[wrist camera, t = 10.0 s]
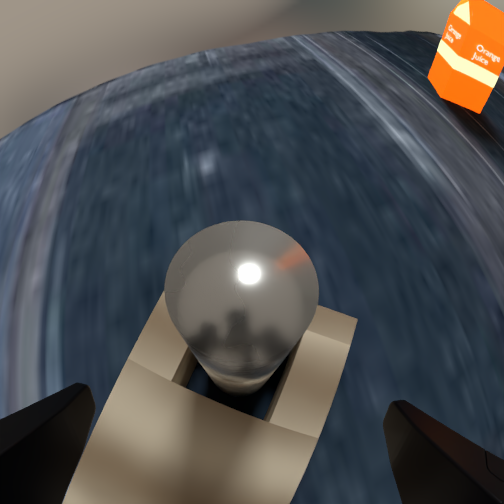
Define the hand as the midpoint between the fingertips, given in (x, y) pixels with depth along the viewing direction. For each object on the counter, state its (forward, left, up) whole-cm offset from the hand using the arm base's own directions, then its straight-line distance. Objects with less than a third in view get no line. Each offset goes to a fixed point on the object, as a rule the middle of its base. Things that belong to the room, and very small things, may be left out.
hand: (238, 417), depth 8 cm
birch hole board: (-2, +1, -10) cm, 10 cm away
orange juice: (+54, -17, -10) cm, 57 cm away
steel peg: (+3, +1, -10) cm, 10 cm away
